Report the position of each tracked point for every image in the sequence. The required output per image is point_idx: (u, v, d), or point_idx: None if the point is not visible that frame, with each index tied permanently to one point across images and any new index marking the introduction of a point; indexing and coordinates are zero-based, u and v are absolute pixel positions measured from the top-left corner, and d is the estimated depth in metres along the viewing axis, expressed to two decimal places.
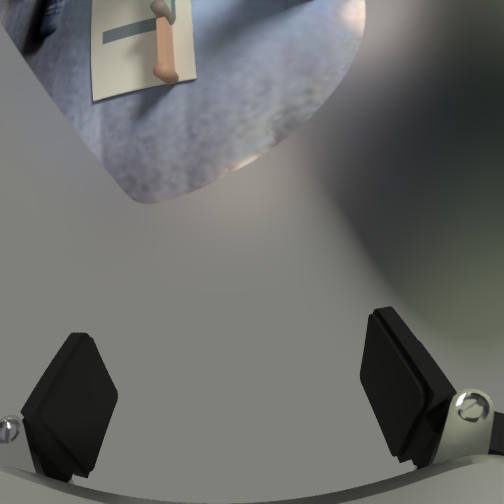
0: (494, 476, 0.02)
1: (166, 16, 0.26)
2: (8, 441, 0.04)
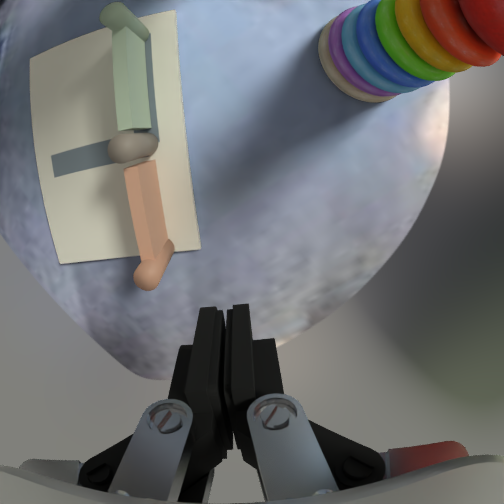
0: (494, 476, 0.02)
1: (141, 156, 0.19)
2: (161, 430, 0.06)
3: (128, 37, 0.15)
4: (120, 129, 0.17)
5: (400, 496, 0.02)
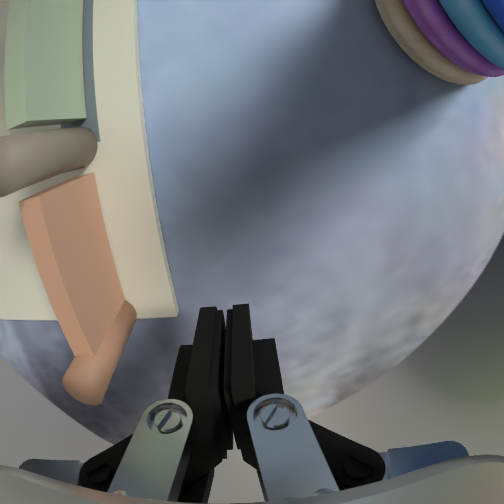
0: (494, 476, 0.02)
1: (53, 173, 0.09)
2: (161, 430, 0.06)
3: None
4: (9, 126, 0.07)
5: (400, 496, 0.02)
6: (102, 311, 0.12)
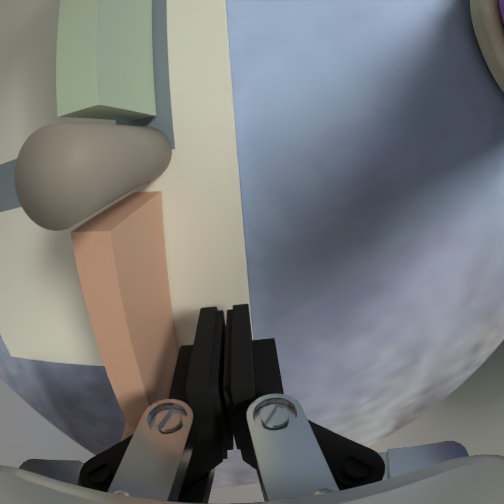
0: (494, 476, 0.02)
1: (126, 193, 0.07)
2: (161, 430, 0.06)
3: None
4: (63, 111, 0.05)
5: (400, 496, 0.02)
6: (163, 371, 0.09)
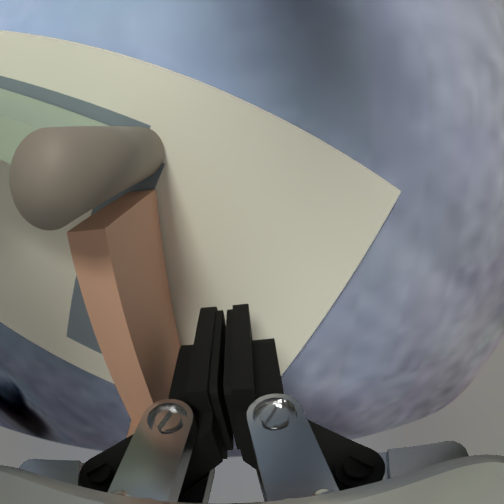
0: (494, 476, 0.02)
1: (119, 192, 0.07)
2: (161, 430, 0.06)
3: None
4: None
5: (400, 496, 0.02)
6: (165, 367, 0.10)
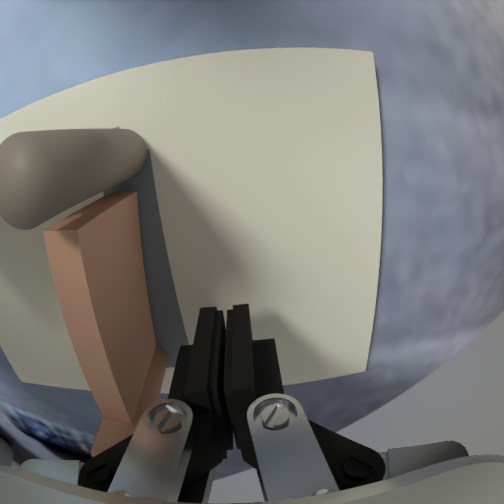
0: (494, 476, 0.02)
1: (95, 194, 0.07)
2: (161, 430, 0.06)
3: None
4: None
5: (400, 496, 0.02)
6: (138, 366, 0.10)
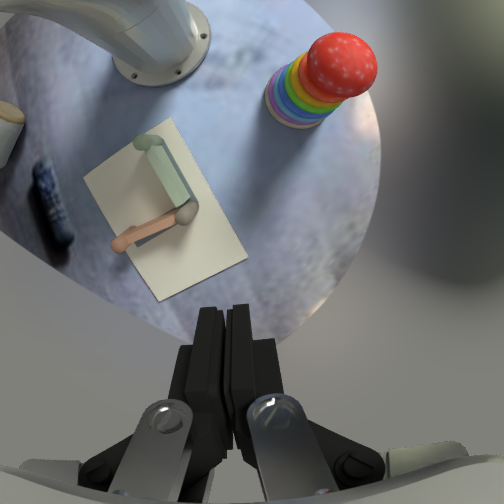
0: (494, 476, 0.02)
1: None
2: (161, 430, 0.06)
3: (155, 151, 0.31)
4: (177, 206, 0.32)
5: (400, 496, 0.02)
6: None
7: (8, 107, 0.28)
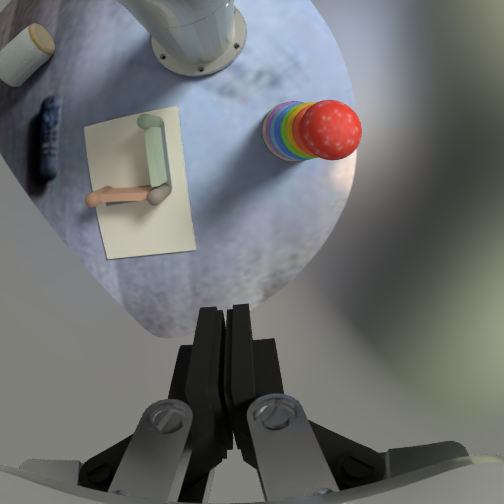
0: (494, 476, 0.02)
1: None
2: (161, 430, 0.06)
3: (153, 132, 0.33)
4: (152, 186, 0.35)
5: (400, 496, 0.02)
6: None
7: (44, 34, 0.27)
